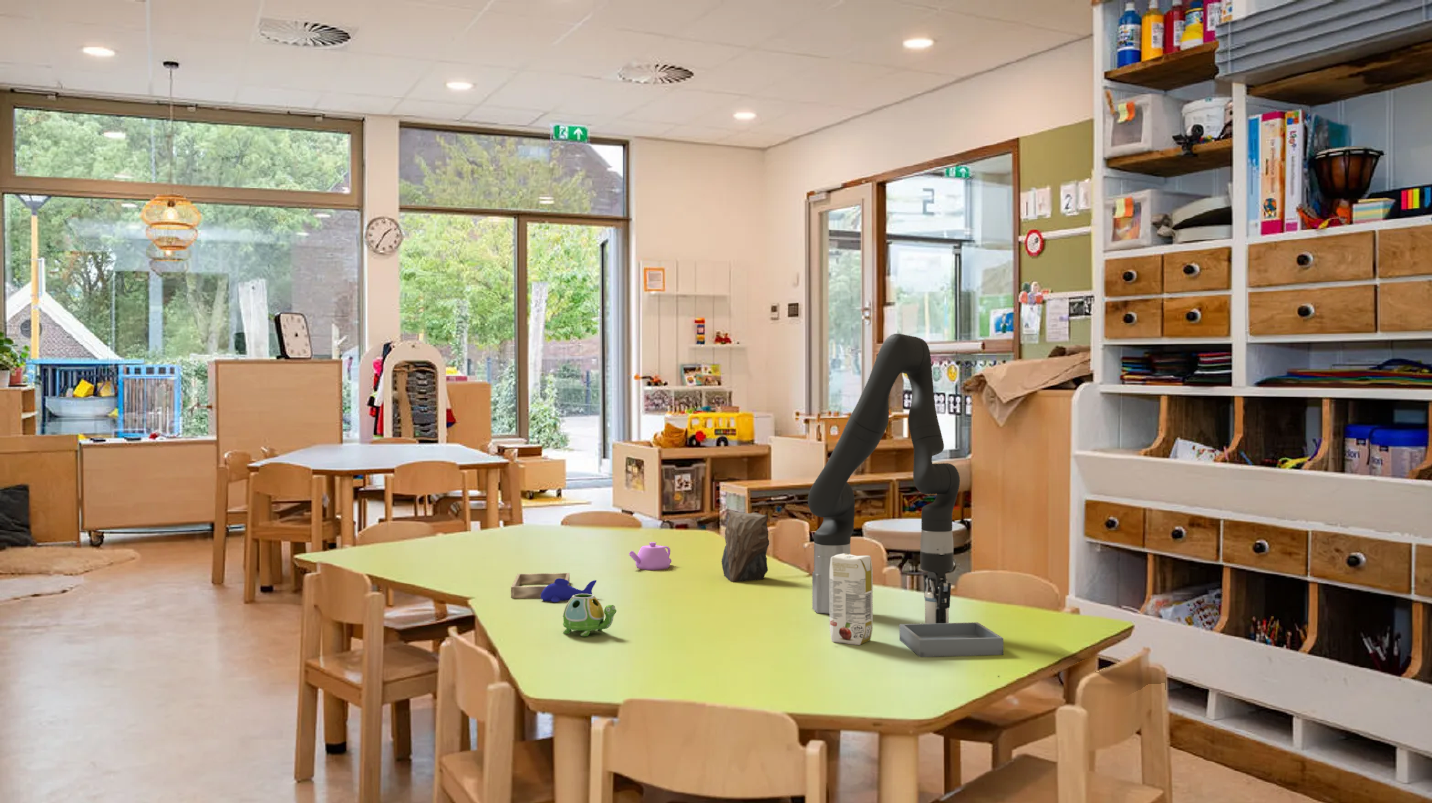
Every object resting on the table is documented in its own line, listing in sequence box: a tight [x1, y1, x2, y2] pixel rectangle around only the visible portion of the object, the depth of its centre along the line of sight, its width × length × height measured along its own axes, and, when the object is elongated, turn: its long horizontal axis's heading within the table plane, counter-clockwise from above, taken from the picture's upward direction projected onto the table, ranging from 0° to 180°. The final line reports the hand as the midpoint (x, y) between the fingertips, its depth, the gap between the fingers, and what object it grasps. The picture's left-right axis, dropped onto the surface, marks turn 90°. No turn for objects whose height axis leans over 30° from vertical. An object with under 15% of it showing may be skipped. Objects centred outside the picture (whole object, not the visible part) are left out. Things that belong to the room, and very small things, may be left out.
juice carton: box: [829, 553, 874, 646], centre depth 244 cm, size 8×9×19 cm
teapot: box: [628, 541, 672, 571], centre depth 338 cm, size 10×15×9 cm
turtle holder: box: [562, 593, 617, 637], centre depth 253 cm, size 9×13×9 cm
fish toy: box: [540, 578, 597, 603], centre depth 289 cm, size 15×8×7 cm, turn 111°
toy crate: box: [510, 572, 571, 599], centre depth 302 cm, size 15×22×4 cm
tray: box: [899, 621, 1004, 658], centre depth 238 cm, size 18×16×4 cm
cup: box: [924, 590, 950, 624], centre depth 254 cm, size 6×6×9 cm
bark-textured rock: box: [721, 511, 770, 583], centre depth 323 cm, size 13×13×20 cm
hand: (936, 622), depth 254 cm, fingers closed on cup, 5 cm apart
